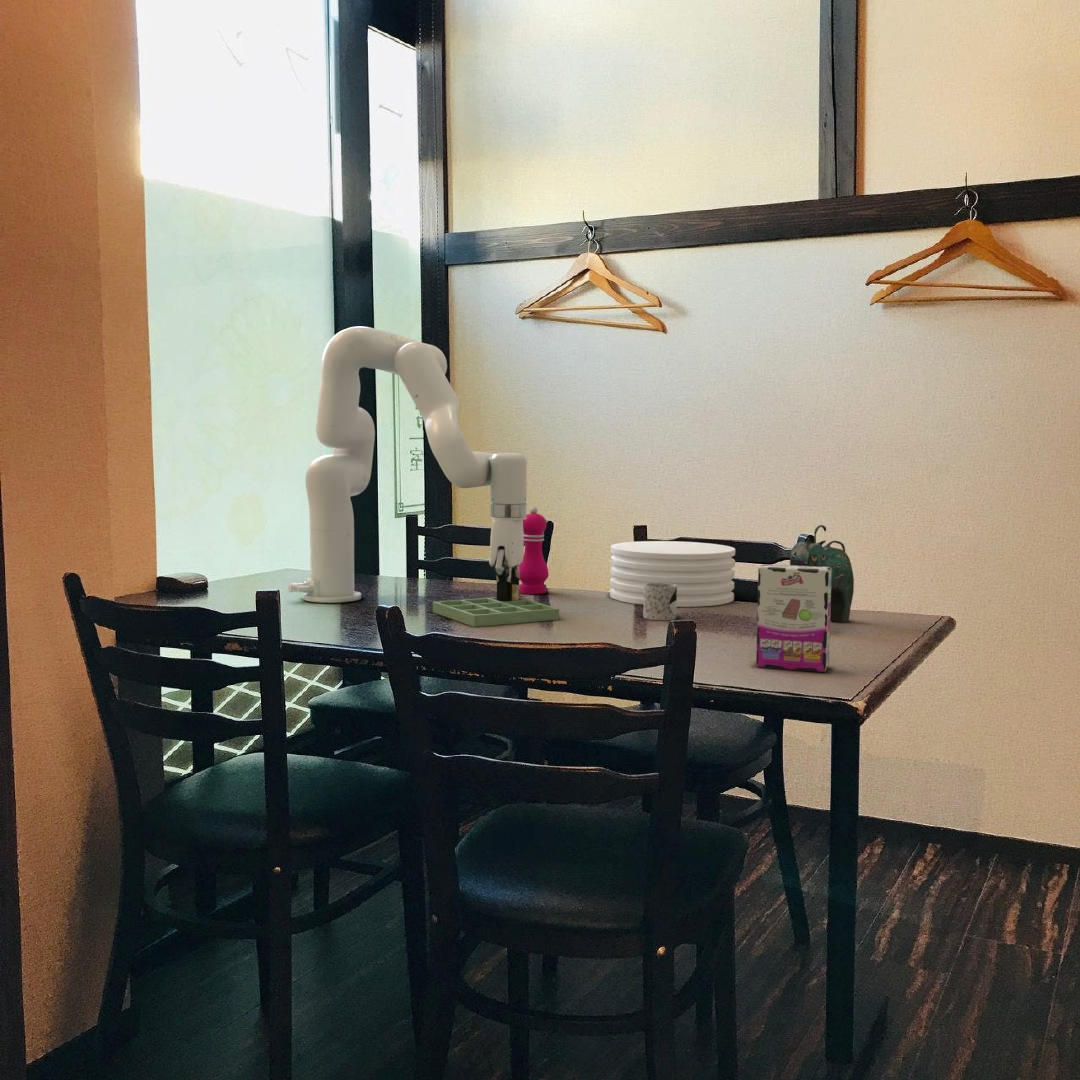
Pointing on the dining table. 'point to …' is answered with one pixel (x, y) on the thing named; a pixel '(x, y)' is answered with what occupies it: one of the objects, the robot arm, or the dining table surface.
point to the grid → (495, 611)
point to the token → (515, 592)
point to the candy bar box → (793, 617)
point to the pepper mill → (533, 555)
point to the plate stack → (673, 571)
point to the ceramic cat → (840, 575)
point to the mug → (660, 601)
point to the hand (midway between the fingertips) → (508, 598)
